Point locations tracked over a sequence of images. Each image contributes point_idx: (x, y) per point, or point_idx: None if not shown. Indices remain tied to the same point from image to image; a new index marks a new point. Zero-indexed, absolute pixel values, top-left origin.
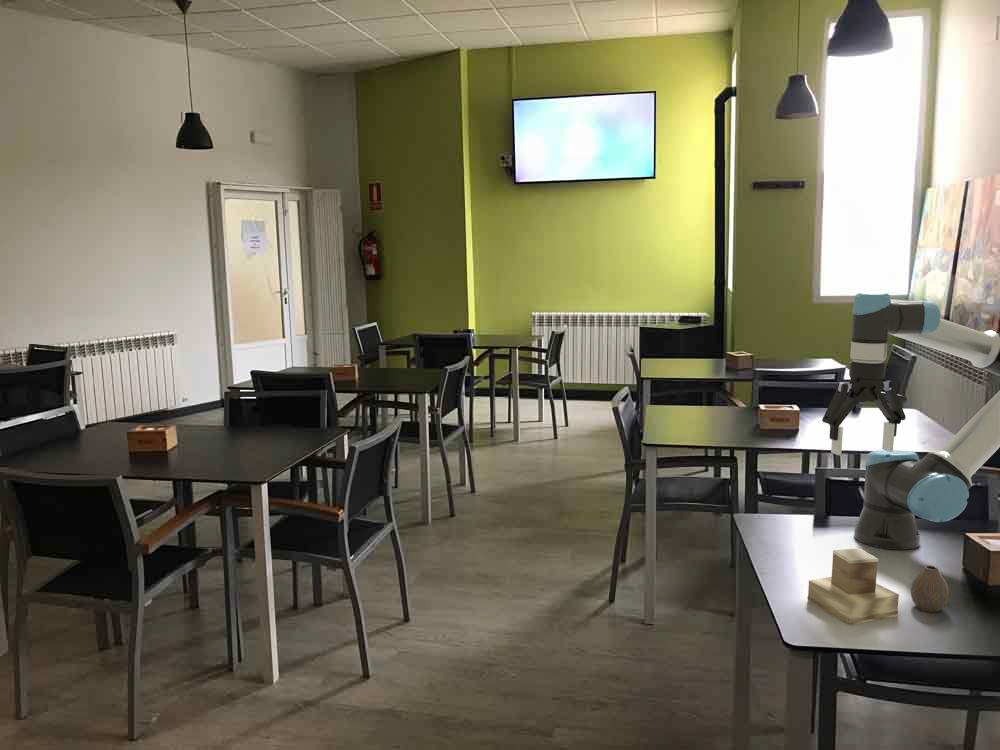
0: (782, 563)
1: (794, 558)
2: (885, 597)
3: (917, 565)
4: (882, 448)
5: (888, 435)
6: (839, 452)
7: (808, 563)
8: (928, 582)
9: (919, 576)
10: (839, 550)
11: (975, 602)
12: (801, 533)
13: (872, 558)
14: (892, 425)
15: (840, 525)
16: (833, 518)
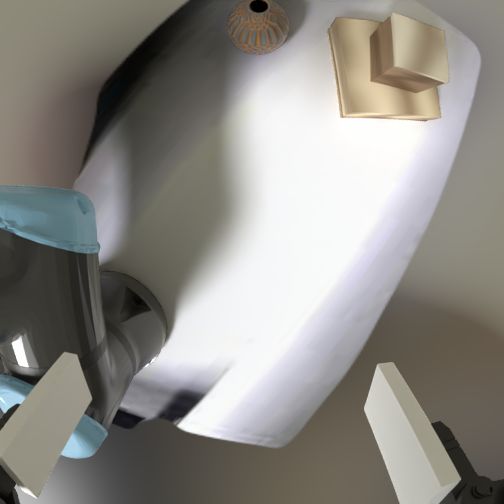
0: (368, 269)
1: (334, 285)
2: (362, 20)
3: (136, 202)
4: (90, 399)
5: (45, 422)
6: (393, 370)
7: (327, 259)
8: (277, 4)
9: (280, 18)
10: (440, 74)
11: (164, 43)
12: (242, 380)
13: (402, 17)
14: (2, 449)
15: (156, 389)
16: (152, 411)
